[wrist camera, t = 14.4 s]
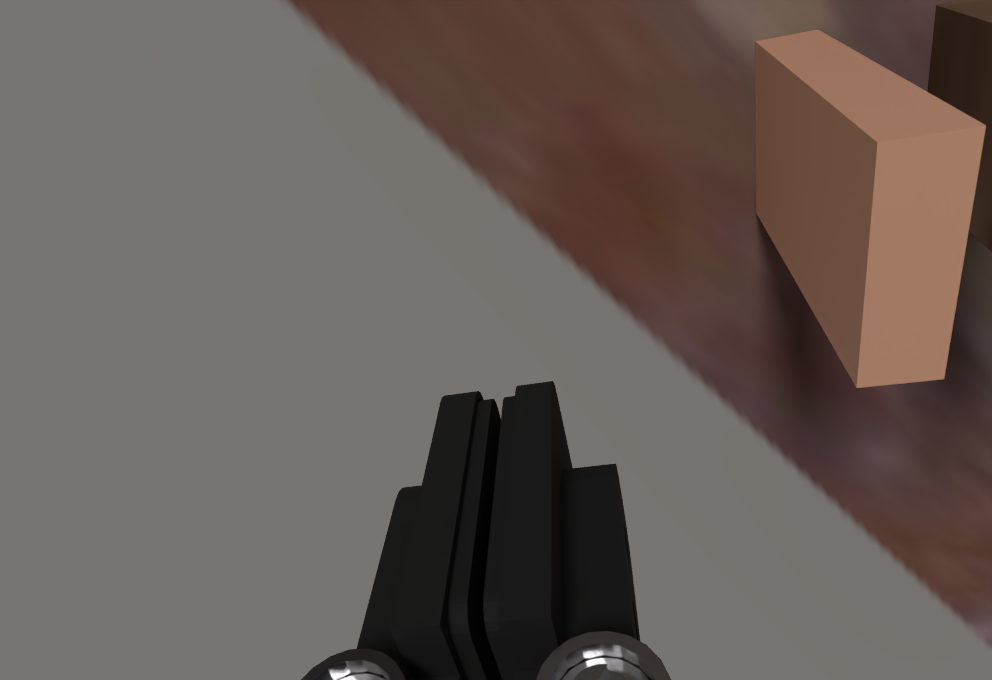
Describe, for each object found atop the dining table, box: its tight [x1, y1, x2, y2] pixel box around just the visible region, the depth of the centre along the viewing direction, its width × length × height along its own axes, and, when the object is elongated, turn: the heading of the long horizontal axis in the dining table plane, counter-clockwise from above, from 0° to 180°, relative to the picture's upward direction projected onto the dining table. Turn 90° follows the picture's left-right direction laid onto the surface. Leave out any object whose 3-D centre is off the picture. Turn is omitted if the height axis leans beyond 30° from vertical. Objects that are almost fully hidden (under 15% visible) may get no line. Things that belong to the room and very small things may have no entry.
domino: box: [755, 30, 986, 388], centre depth 16 cm, size 2×5×9 cm, turn 11°
